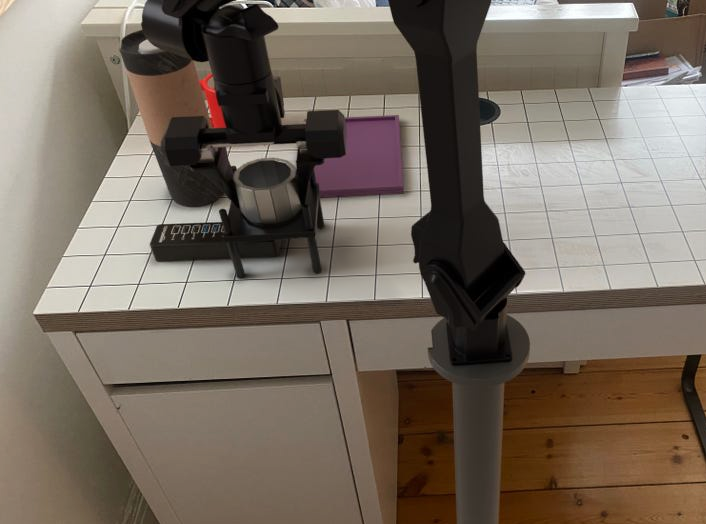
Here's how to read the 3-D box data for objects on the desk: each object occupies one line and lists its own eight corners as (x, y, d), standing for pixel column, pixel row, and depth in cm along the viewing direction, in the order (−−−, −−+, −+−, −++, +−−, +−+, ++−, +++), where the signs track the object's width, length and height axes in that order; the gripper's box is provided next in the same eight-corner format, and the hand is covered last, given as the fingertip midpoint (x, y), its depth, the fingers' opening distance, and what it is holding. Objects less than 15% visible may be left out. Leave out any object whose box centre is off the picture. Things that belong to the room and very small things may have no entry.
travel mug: (240, 186, 100) (201, 36, 86) (197, 214, 96) (148, 60, 82) (200, 170, 103) (155, 21, 89) (156, 196, 99) (102, 44, 84)
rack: (322, 274, 88) (310, 208, 81) (235, 279, 87) (216, 214, 80) (325, 224, 95) (314, 160, 88) (245, 228, 94) (228, 164, 87)
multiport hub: (277, 256, 90) (274, 241, 88) (154, 261, 89) (148, 245, 87) (282, 234, 93) (278, 219, 91) (162, 239, 92) (157, 223, 90)
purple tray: (403, 193, 100) (403, 186, 99) (296, 199, 98) (295, 191, 98) (399, 121, 113) (398, 114, 112) (305, 125, 112) (304, 119, 111)
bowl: (300, 224, 84) (293, 188, 81) (239, 227, 84) (229, 192, 80) (304, 190, 89) (297, 156, 86) (246, 193, 89) (237, 159, 85)
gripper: (338, 35, 81) (354, 163, 92) (161, 42, 80) (199, 171, 91) (335, 82, 73) (353, 215, 85) (139, 90, 72) (184, 225, 83)
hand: (272, 204), depth 86 cm, fingers closed on bowl, 7 cm apart
